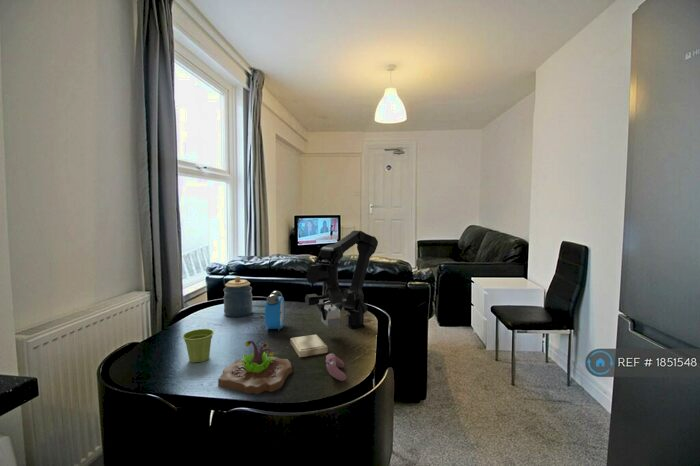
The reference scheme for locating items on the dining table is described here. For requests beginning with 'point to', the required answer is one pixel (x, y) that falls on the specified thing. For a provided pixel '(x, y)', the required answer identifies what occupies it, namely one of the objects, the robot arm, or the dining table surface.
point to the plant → (256, 372)
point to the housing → (331, 315)
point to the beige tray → (308, 345)
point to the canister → (237, 298)
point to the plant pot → (198, 344)
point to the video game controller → (335, 367)
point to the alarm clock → (274, 311)
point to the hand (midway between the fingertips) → (330, 319)
